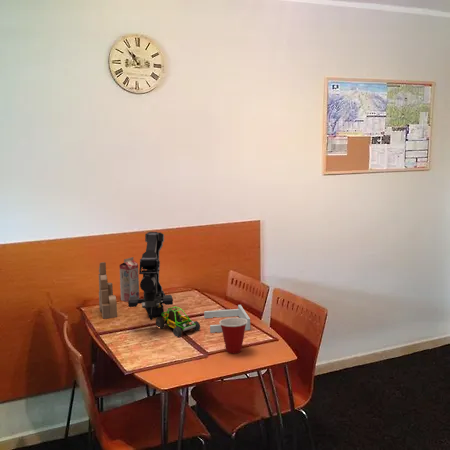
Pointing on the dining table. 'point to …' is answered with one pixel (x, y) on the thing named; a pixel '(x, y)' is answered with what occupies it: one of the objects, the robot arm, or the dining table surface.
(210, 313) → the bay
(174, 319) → the motor vehicle
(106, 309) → the wooden toy
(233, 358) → the dining table surface
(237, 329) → the plastic cup
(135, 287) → the milk carton
